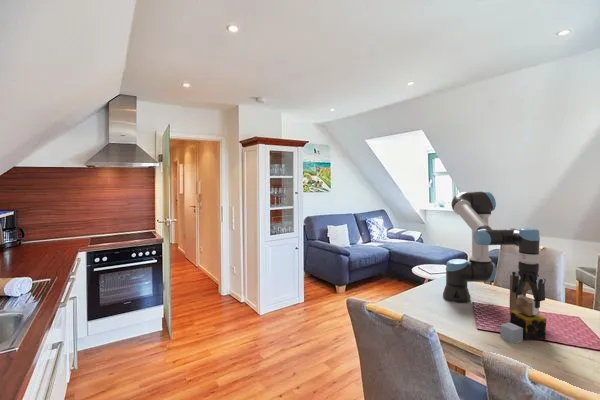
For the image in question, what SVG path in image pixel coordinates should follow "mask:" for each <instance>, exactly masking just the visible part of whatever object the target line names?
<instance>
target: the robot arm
mask: <svg viewBox="0 0 600 400" xmlns="http://www.w3.org/2000/svg"><path fill="white" fill-rule="evenodd" d="M496 204H497V202H496V197H495V196H494V195H493V193H491V192H490V191H462V192H459V193H457V194H456V195H455V196H454V197H453V198H452V201H451V204H450V205H451V209H452V211H453V212H454V213H455V214H456V215H459V216H460V218H462V220H463V221H464V222H465V224H467V226H468V227H469V228H470V229H471V256H470V257H469V261H468V260H467V259H465V258H464V259H462V258H455V259H449V260H448V261H447V262H446V265H445V287H444V290H443V291H442V298H443V299H444V300H447V301H448V302H452V303H458V304H464V303H465V304H467V303H469V302H471V294H470V291H469V287H468V283H469V282H470V283H473V282H474V283H475V282H476V283H478V282H479V283H486V282H492V281H493V280H495V278H496V276H497V268H496V264H495V263H494V262H492V259H491V257H490V256H489V246H516V247H518V265H517V266H518V267H517V268H518V271H517V270H515V271H512V274H511V275H513V282H512V292H514V293H516V300H517V298H521V297H523V295H521V294H522V291H523V288H524V286H525V283H526V282H528V283H529V285H530V286H531V289H532V290H531V292H532V296H533V299H534V300H532V315H536V314H539V313H538V308H539V309H540V307H541V302H543V301H545V300H546V290H545V287H546V286H545V284H546V281H547V280H546V278H542V277H541V276H539V269H540V264H539V262H540V240H541V237H540V230H539V229H537V228H531V227H521V228H519V229H517V228H510V227H508V228H506V229H492V227H490V226H489V218H490V216H491V215H492V212H493V211H495V210H496V207H497V205H496ZM519 276H520V277H521V278H520V280H519ZM518 283H519V285H518Z"/></svg>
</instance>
